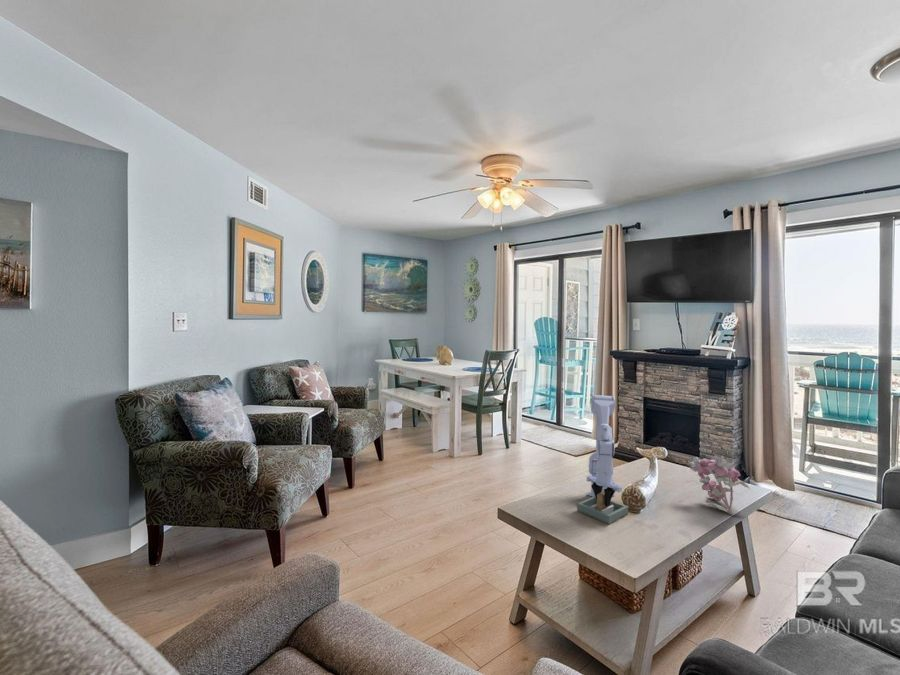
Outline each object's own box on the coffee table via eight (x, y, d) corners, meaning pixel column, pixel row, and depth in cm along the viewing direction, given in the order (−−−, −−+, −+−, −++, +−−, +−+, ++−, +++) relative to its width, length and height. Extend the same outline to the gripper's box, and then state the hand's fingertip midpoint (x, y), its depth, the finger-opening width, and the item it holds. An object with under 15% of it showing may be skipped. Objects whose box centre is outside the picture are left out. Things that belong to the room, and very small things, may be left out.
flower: (769, 509, 179) (746, 449, 188) (743, 516, 167) (720, 451, 176) (721, 513, 194) (702, 456, 203) (694, 520, 182) (675, 459, 191)
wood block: (604, 508, 179) (605, 490, 179) (609, 510, 178) (609, 492, 177) (596, 512, 175) (597, 494, 175) (600, 514, 174) (601, 495, 173)
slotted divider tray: (596, 502, 186) (596, 494, 186) (627, 514, 176) (628, 506, 175) (577, 511, 177) (577, 503, 177) (609, 524, 167) (609, 516, 166)
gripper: (582, 467, 178) (581, 500, 179) (615, 478, 167) (614, 513, 168) (592, 463, 183) (591, 495, 184) (625, 474, 172) (623, 508, 173)
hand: (602, 503), depth 176 cm, fingers open, 3 cm apart
